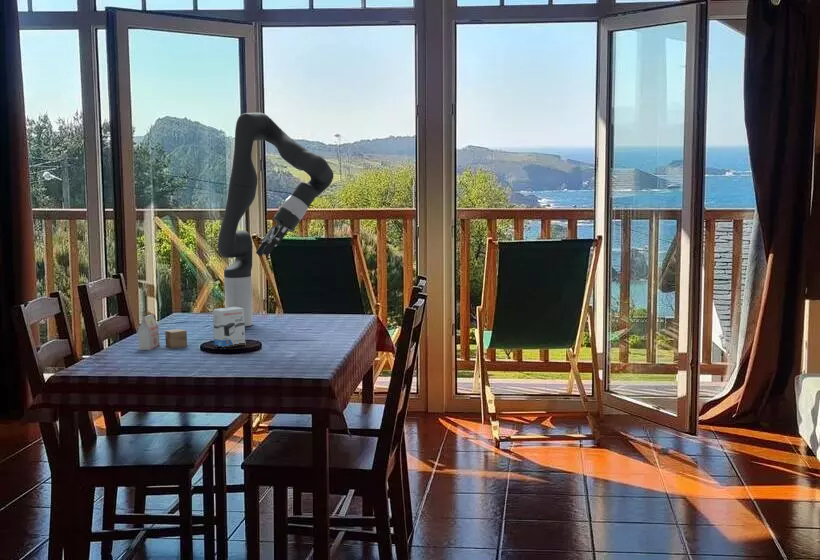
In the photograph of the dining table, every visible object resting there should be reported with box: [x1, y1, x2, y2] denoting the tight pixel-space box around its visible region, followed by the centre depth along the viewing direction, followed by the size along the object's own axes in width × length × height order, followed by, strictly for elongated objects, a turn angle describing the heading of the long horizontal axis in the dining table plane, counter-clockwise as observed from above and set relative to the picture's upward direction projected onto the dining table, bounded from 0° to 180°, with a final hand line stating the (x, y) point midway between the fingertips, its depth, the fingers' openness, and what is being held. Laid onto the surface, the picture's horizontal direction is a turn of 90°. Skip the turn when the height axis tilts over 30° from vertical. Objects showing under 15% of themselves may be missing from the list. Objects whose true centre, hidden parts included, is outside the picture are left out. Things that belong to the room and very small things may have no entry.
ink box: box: [212, 307, 246, 347], centre depth 296 cm, size 8×5×12 cm, turn 131°
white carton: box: [137, 313, 161, 351], centre depth 296 cm, size 4×7×10 cm, turn 171°
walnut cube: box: [164, 328, 188, 349], centre depth 298 cm, size 5×5×5 cm
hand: (261, 254), depth 301 cm, fingers open, 8 cm apart
